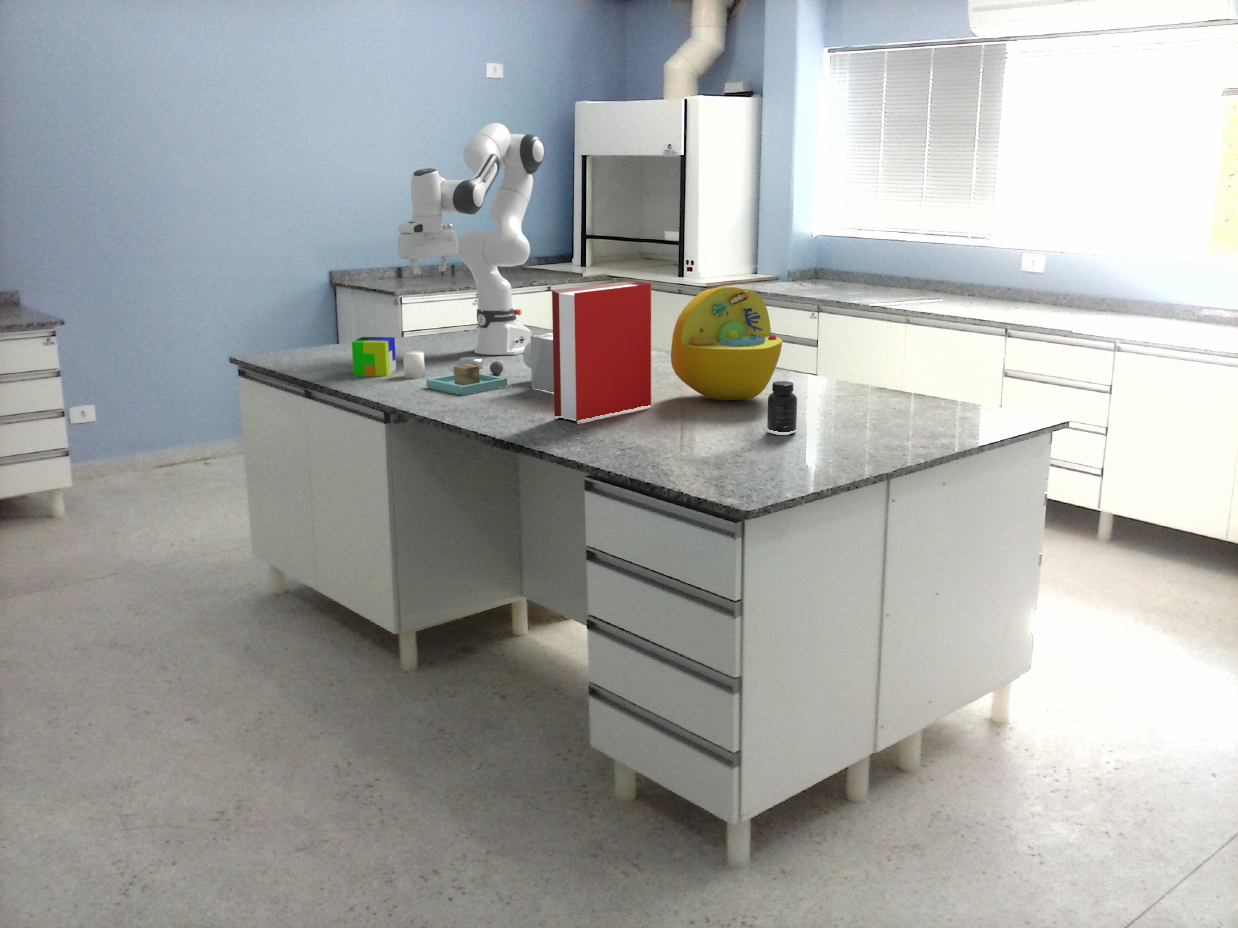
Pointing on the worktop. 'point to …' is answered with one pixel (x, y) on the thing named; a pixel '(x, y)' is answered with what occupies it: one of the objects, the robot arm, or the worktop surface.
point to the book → (601, 349)
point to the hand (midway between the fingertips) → (429, 272)
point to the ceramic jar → (414, 364)
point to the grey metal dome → (472, 361)
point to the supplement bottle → (782, 407)
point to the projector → (540, 361)
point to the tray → (448, 385)
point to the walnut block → (466, 374)
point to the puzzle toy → (374, 356)
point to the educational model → (725, 344)
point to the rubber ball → (496, 368)
